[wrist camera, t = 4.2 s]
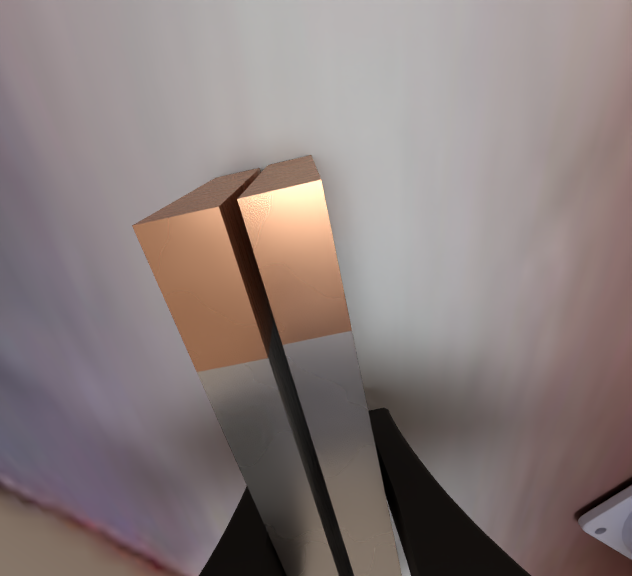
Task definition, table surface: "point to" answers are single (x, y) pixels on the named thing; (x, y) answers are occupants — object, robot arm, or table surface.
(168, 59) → the table surface
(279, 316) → the tongs fixed arm
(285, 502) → the tongs moving arm
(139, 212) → the table surface
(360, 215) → the table surface
